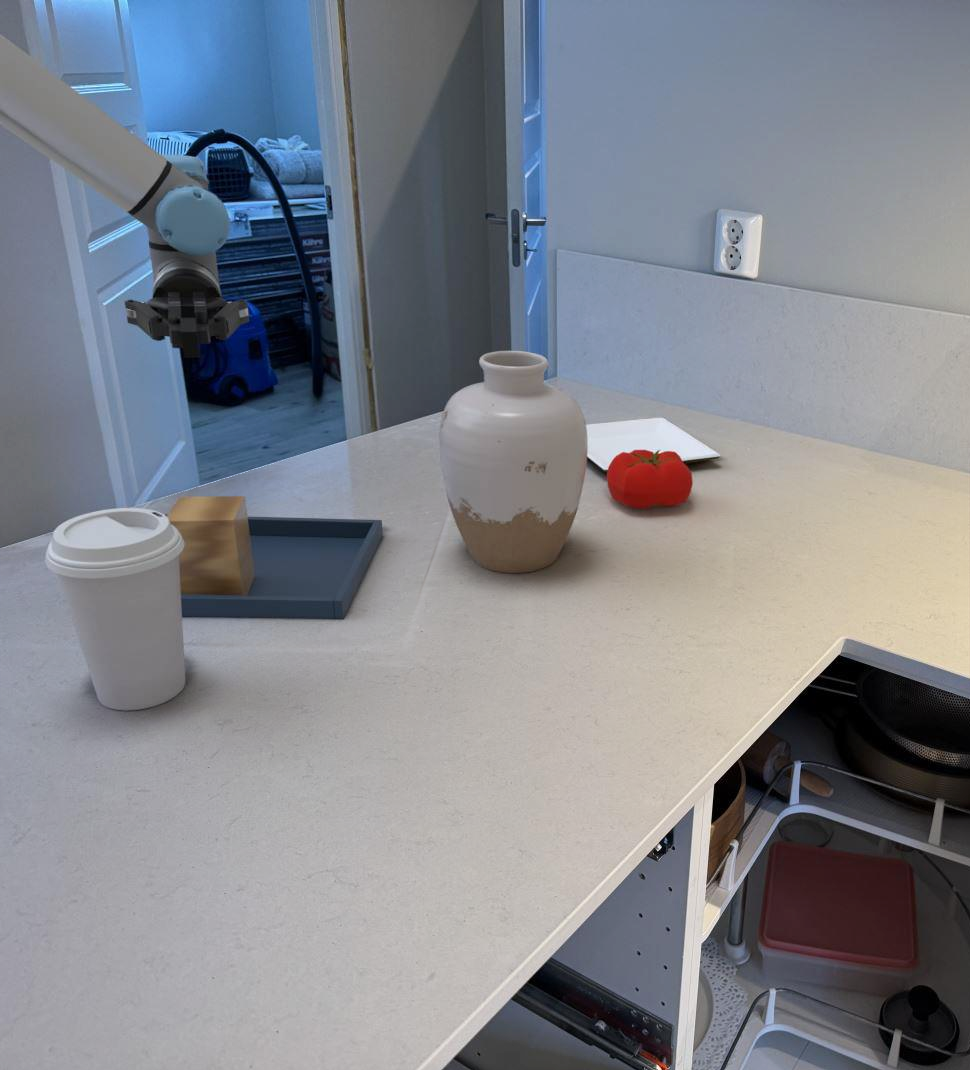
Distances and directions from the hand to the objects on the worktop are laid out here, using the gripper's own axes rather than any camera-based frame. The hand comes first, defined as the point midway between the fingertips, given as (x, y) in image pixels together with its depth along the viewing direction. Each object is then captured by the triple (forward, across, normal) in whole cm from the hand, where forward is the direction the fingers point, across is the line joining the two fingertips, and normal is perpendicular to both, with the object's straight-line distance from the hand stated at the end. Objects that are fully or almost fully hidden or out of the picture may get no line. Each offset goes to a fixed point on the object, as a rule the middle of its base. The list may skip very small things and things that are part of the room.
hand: (190, 344), depth 102 cm
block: (+14, 0, -22) cm, 26 cm away
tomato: (+3, -51, -22) cm, 56 cm away
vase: (+14, -30, -22) cm, 40 cm away
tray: (+11, -3, -22) cm, 24 cm away
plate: (-15, -57, -22) cm, 63 cm away
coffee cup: (+30, +6, -22) cm, 38 cm away
